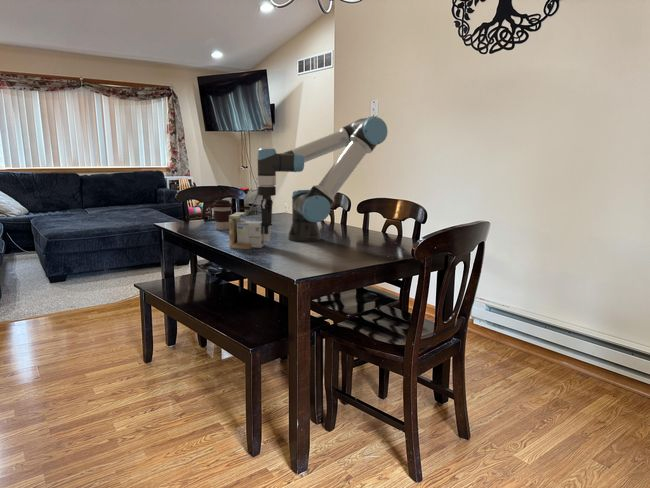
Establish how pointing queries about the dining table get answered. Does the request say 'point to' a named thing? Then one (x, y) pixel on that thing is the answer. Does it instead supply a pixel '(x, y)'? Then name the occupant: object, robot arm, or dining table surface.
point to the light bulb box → (250, 233)
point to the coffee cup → (222, 214)
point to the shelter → (233, 231)
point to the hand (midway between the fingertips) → (266, 240)
